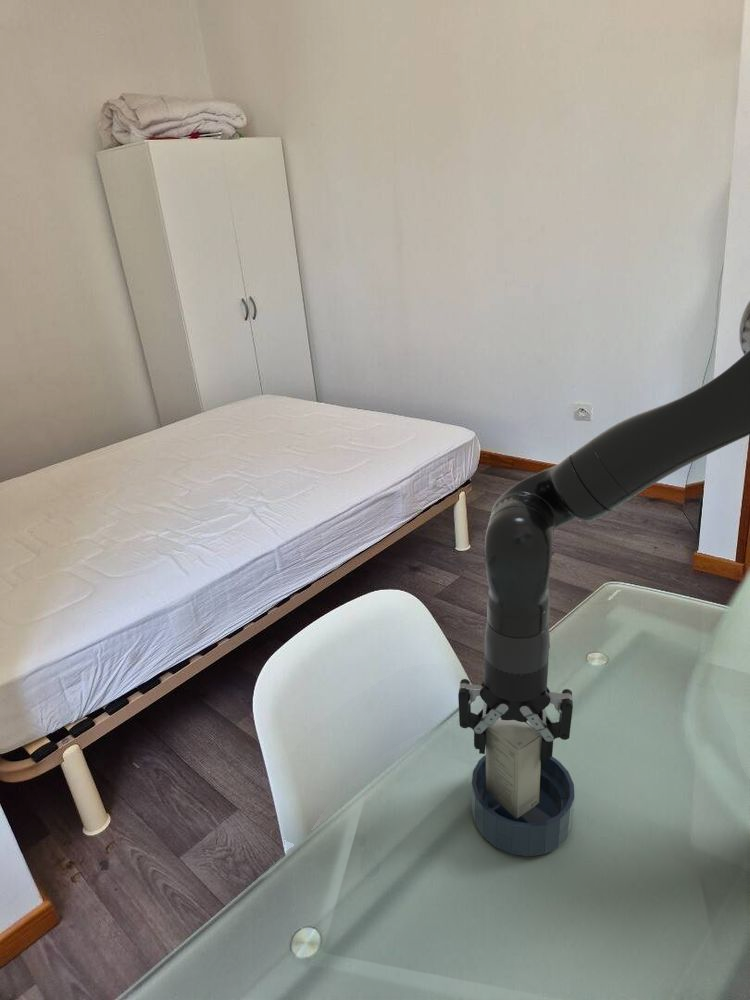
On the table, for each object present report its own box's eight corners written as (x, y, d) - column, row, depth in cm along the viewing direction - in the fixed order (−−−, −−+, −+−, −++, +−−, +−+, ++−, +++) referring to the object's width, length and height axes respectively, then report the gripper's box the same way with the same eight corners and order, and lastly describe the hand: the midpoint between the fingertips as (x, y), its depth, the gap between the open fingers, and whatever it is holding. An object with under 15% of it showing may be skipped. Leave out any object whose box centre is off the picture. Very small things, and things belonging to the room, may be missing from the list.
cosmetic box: (539, 804, 91) (545, 735, 86) (515, 821, 89) (519, 751, 84) (506, 773, 96) (509, 706, 90) (482, 789, 94) (484, 721, 88)
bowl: (569, 782, 98) (572, 751, 95) (572, 866, 86) (576, 834, 84) (476, 770, 100) (476, 740, 98) (467, 850, 89) (467, 818, 86)
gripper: (452, 665, 80) (454, 768, 87) (580, 677, 77) (571, 783, 84) (459, 627, 86) (460, 725, 94) (577, 636, 83) (569, 737, 90)
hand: (512, 752), depth 89 cm, fingers closed on cosmetic box, 7 cm apart
